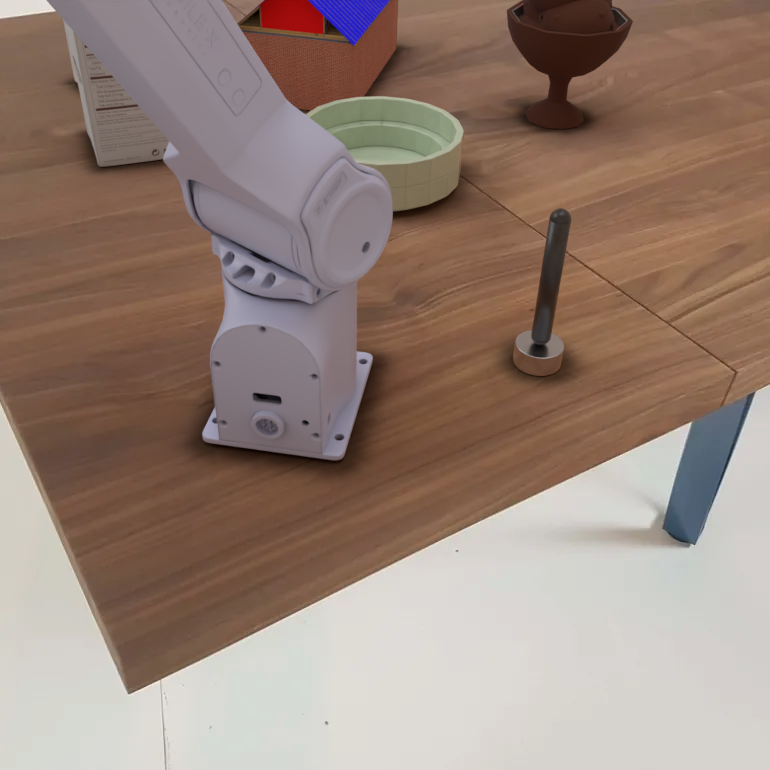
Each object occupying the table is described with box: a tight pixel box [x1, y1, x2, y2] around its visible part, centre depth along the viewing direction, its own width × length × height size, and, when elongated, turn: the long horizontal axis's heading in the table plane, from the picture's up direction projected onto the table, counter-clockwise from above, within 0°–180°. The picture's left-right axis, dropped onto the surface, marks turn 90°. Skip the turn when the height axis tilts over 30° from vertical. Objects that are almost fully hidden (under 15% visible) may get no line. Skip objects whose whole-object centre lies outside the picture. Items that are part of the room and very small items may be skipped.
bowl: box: [304, 95, 465, 212], centre depth 75 cm, size 13×13×4 cm
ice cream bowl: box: [506, 0, 634, 130], centre depth 83 cm, size 11×11×15 cm
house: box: [236, 0, 399, 111], centre depth 91 cm, size 12×20×12 cm, turn 167°
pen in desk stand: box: [512, 207, 572, 377], centre depth 54 cm, size 3×3×11 cm
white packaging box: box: [66, 23, 169, 168], centre depth 76 cm, size 7×7×13 cm
